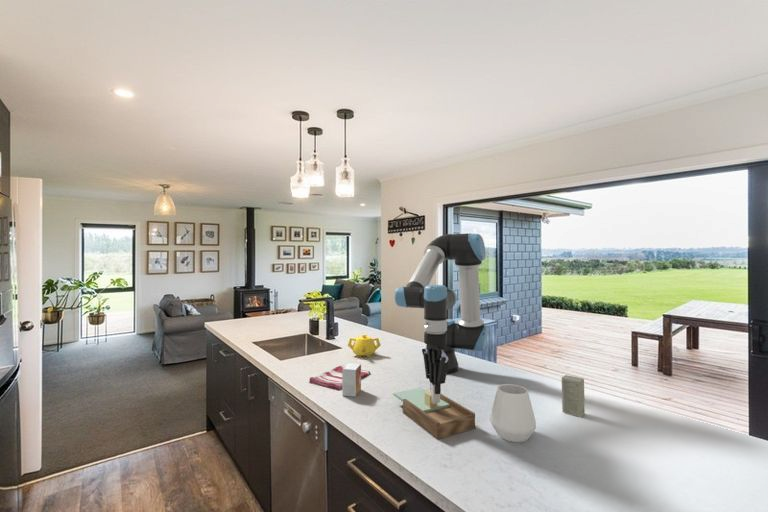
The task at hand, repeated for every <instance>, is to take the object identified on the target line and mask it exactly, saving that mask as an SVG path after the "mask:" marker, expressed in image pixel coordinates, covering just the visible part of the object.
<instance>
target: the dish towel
mask: <svg viewBox="0 0 768 512" xmlns="http://www.w3.org/2000/svg"><path fill="white" fill-rule="evenodd" d="M345 366H346V365H339V366H336V367H334V368H332V369H331V370H328V371H325V372H323V373H321V374H319V375H318V376H314V377H313V376H311V377H309V380H308V381H309V382H308V383H311V384H313V383H314V384H313V385H318V386H320V387H325V388H328V389H332V390H335V391H340V390H342V369H343V368H344V367H345ZM369 375H372V374H371V372H370V371H369V370H364V369H361V380H362V379H364V378H366V377H368V376H369Z"/></svg>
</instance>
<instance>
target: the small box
mask: <svg viewBox="0 0 768 512" xmlns="http://www.w3.org/2000/svg"><path fill="white" fill-rule="evenodd" d="M344 366H345V367H344V368H343V369H342V388H341V390H342V391H341V392H342V396H343V397H355V398H356V397H357V396H358V394H360V392H361V390H362V379H361V370H362V364H361V363H350V362H349V363H347V364H346V365H344Z"/></svg>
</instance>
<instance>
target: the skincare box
mask: <svg viewBox="0 0 768 512" xmlns="http://www.w3.org/2000/svg"><path fill="white" fill-rule="evenodd" d="M585 403H586V402H585V379H584V378H582V377H577V376H572V375H567V374H565V375H564V376H562V377H561V405H562V407H561V410H562V413H563V412H564V413H563V414H567V415H571V416H574V417H578V418H582V417H583V416H584V415H585V414H586V412H585V411H586V409H585Z"/></svg>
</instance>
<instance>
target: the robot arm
mask: <svg viewBox="0 0 768 512" xmlns="http://www.w3.org/2000/svg"><path fill="white" fill-rule="evenodd" d="M485 259H486V246H485V240H484V239H483V236H482V235H481V234H479V233H472V232H471V233H468V232H467V233H446V234H442V235H441V236H438V237H436V238H435V239H433V240H432V241H430V243H429V244H428V245H427V246H426V248H425V249H424V251H423V257H422V258H421V260H420V262H419V264H418V265H417V266H416V268H415V270H414V272H413V274H412V276H411V277H410V279H409V281H407V283H406V286H398V287H397V288H396V289H395V292H394V303H395V304H396V306H398V307H402V308H406V309H407V308H411V309H412V308H413V309H423V315H424V316H423V319H424V321H423V324H424V326H423V327H424V328H423V330H424V333H423V342H424V344H425V346H426V347H425V348H422V349H421V353H422V356H423V363H424V370H425V378H426V379H428V381H429V382H430V384H429V385H430V386H429V389H430V391H431V403H433V404H436V403H440V393H441V389H442V387H441V386H442V384H445V383H446V381H447V380H446V379H447V374H452V373H456V372H458V371H459V362H458V360H457V356H456V352H455V351H456V350H457V349H458V350H464V351H465V350H466V351H471V352H472V351H473V352H475V351H476V352H482V351H484V350H485V348H486V345H487V342H488V336H489V335H488V334H489V327H488V326H487V325H486V324H484V323H485V322H484V320H483V319H482V318H481V306H480V279H479V278H480V276H479V267H480V266H481V265H482V261H484V260H485ZM447 260H448V261H454V265H455V266H456V267H457V268H458V284H459V305H460V306H459V308H460V318H459V319H458V321H457V322H456V321H455V319H452V318H451V319H450V318H448V310H449V309H452V308H453V307H455V305H456V304H457V301H458V297H457V296H458V295H457V293H456V291H455V290H453V289H452V288H449V287H447V286H446V285H443V284H430V283H431V282H432V279H433V278H434V276H435V273H436V271H437V269H438V268H439V266H440V265H441V264H443V263H444V261H447ZM441 394H442V393H441Z"/></svg>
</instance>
